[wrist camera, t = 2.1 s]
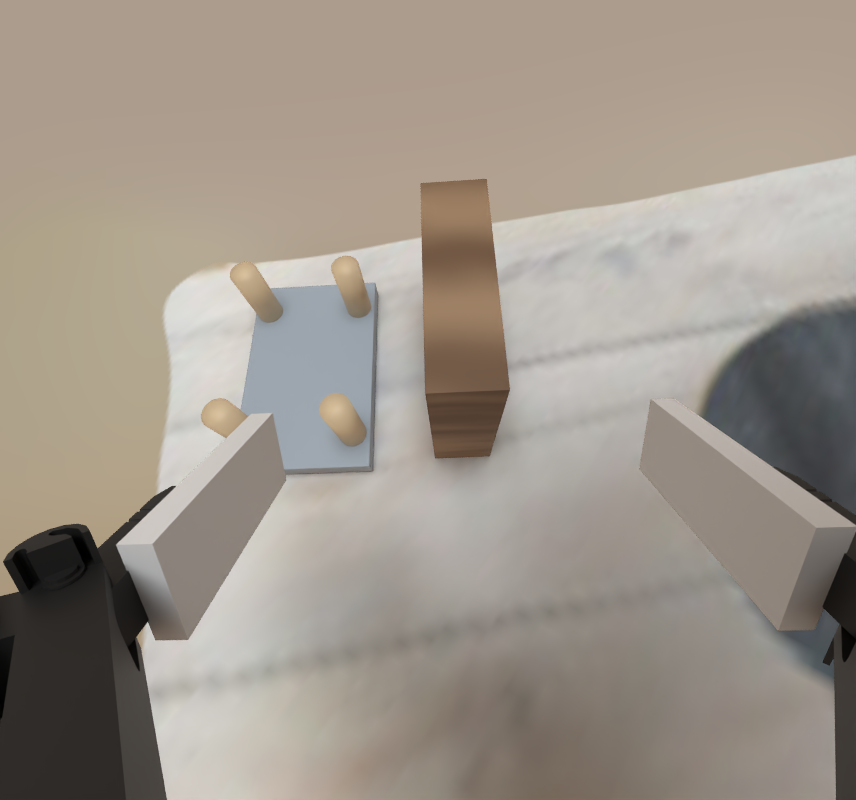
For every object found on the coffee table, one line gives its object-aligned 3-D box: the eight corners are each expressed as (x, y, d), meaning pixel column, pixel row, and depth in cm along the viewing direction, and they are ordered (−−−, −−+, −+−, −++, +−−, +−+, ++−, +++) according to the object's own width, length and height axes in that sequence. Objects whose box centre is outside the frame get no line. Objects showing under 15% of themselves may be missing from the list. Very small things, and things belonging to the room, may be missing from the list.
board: (489, 456, 31) (509, 389, 19) (435, 458, 31) (425, 393, 20) (476, 300, 36) (486, 178, 25) (430, 302, 36) (420, 183, 25)
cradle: (372, 470, 31) (353, 446, 25) (240, 475, 31) (189, 452, 25) (378, 293, 37) (363, 239, 31) (267, 299, 37) (232, 247, 31)
